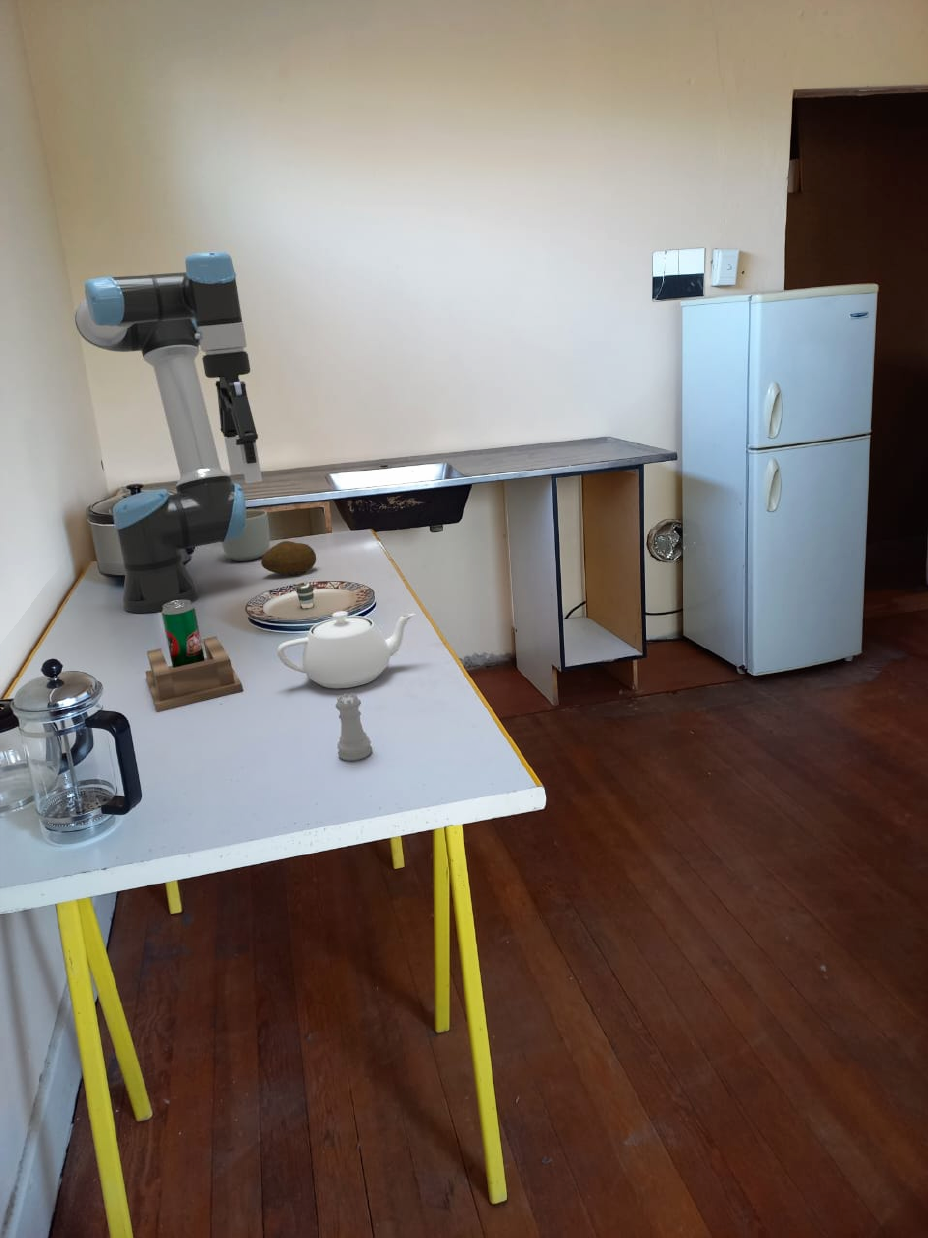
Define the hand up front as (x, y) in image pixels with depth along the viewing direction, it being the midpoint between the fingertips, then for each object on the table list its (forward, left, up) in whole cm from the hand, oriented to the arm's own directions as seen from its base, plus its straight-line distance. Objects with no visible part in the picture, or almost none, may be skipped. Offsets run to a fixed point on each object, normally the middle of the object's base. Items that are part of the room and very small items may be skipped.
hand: (246, 477), depth 156 cm
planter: (-62, +8, -29) cm, 69 cm away
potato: (-38, +13, -29) cm, 50 cm away
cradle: (+18, -17, -29) cm, 38 cm away
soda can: (+17, -17, -28) cm, 37 cm away
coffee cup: (-10, +10, -29) cm, 33 cm away
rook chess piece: (+57, -2, -29) cm, 64 cm away
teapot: (+31, +6, -29) cm, 43 cm away
